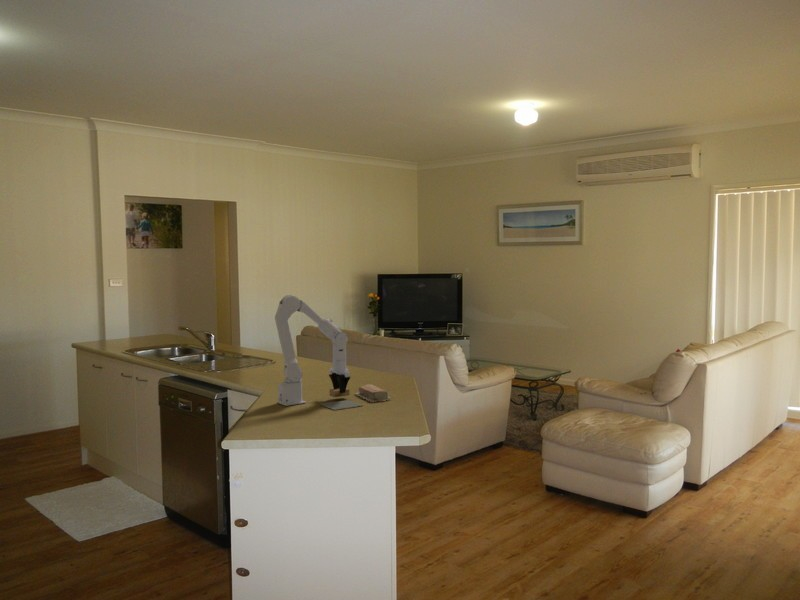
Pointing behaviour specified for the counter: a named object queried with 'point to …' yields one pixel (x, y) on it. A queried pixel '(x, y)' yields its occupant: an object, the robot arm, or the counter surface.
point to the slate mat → (341, 405)
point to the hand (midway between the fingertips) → (339, 391)
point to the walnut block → (338, 392)
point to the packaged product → (372, 393)
